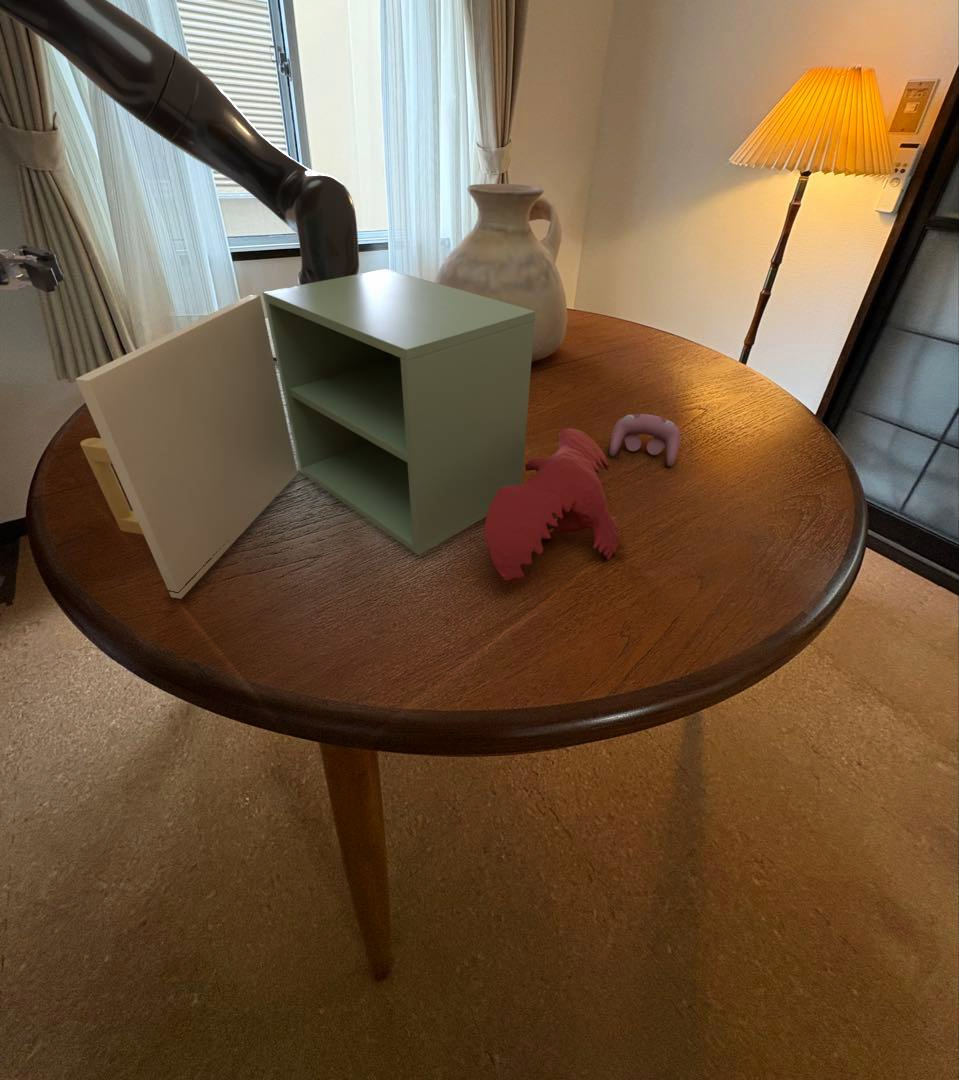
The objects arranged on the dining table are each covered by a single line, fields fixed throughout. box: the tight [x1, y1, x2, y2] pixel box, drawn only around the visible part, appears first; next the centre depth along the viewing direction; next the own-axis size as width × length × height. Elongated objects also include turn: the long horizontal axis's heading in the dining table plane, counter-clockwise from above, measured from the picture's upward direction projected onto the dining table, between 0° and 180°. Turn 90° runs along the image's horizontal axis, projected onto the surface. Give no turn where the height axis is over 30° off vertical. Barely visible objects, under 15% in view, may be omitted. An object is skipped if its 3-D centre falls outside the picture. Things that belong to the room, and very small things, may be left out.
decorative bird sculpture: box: [483, 427, 621, 581], centre depth 65 cm, size 28×9×15 cm
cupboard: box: [261, 268, 535, 556], centre depth 70 cm, size 18×26×24 cm
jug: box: [433, 183, 568, 363], centre depth 111 cm, size 29×34×30 cm
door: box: [75, 294, 298, 600], centre depth 62 cm, size 8×26×24 cm, turn 167°
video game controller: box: [608, 413, 681, 467], centre depth 84 cm, size 10×5×7 cm, turn 71°
